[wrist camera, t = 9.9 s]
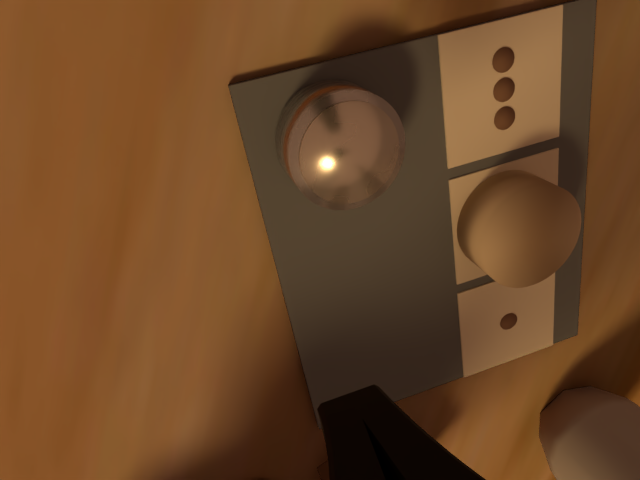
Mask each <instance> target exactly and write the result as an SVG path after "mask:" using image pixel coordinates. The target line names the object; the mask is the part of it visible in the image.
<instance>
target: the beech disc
mask: <svg viewBox="0 0 640 480" xmlns="http://www.w3.org/2000/svg"><path fill="white" fill-rule="evenodd" d="M580 230H581V211H580V208H579V205H578V203H577V201H576V199H575V198H574V196H573V195H572V194H571V193H569V192H568V191H567V190H565V189H563V188H561V187H559V186H557V185H555V184H553V183H551V182H548V181H546V180H544V179H542V178H540V177H538V176H536V175H533V174H531V173H529V172H526V171H522V170H508V171H504V172H500V173H498V174H495V175H493V176H491V177H490V178H488V179H486V180H485V181H484V182H482V183H481V184H480V185H479V186H478V187H477V188H476V189H475V190H474V191H473V192H472V193H471V194H470V196H469V197H468V198H467V200H466V202H465V203H464V205H463V207H462V209H461V212H460V215H459V218H458V223H457V239H458V243H459V246H460V248H461V250H462V252H463V253H464V255H465V256H466V257H467V258H468V259H469V260H471V261H472V262H473V263H474V264H475V265H477V266H478V267H479V268H480V269H481V270H483V271H484V272H485V273H486V274H487V275H489V276H490V277H491V278H492V279H493V280H495V281H496V282H497V283H499V284H501V285H503V286H506V287H511V288H523V287H528V286H531V285H534V284H537V283H539V282H541V281H543V280H545V279H546V278H548V277H549V276H551V275H552V274H553V273H555V272H556V271H557V270H558V269H559V268H560V267H561V266H562V265H563V264H564V263H565V261H566V260H567V259H568V257H569V256H570V255H571V253H572V251H573V249H574V248H575V245H576V243H577V241H578V238H579V235H580Z"/></svg>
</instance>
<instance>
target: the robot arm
mask: <svg viewBox="0 0 640 480" xmlns="http://www.w3.org/2000/svg"><path fill="white" fill-rule="evenodd" d="M317 411H318V415H319V419H320V422H321V426H322V430H323V434H324V438H325V442H326V448H327V455H328V466H329V480H485V479H484V478H483V477H481V476H480V475H479V474H477V473H476V472H475V471H473V470H472V469H471V468H469V467H468V466H467V465H465V464H464V463H463V462H461V461H460V460H459V459H458V458H456V457H455V456H454V455H453V454H451V453H450V452H449V451H448V450H447V449H445V448H444V447H443V446H442V445H441V444H439V443H438V442H437V441H436V440H435V439H433V438H432V437H431V436H430V435H429V434H427V433H426V432H425V431H424V430H423V429H422V428H421V427H419V426H418V425H417V424H416V423H415V422H414V421H413V420H412V419H411V418H410V417H409V416H408V415H406V414H405V413H404V412H403V411H402V410H401V409H400V408H399V407H398V406H397V405H396V404H395V403H394V402H393V401H392V400H391V399H390V398H389V397H388V396H387V395H386V394H385V392H384V391H383V390H382V389H381V388H380V387H379V386H377V385H371V386H368V387H365V388H362V389H360V390H357V391H354V392H351V393H348V394H346V395H343V396H340V397H337V398H334V399H332V400H329V401H326V402H323V403H321V404H320V405H319V407H318V408H317Z"/></svg>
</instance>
